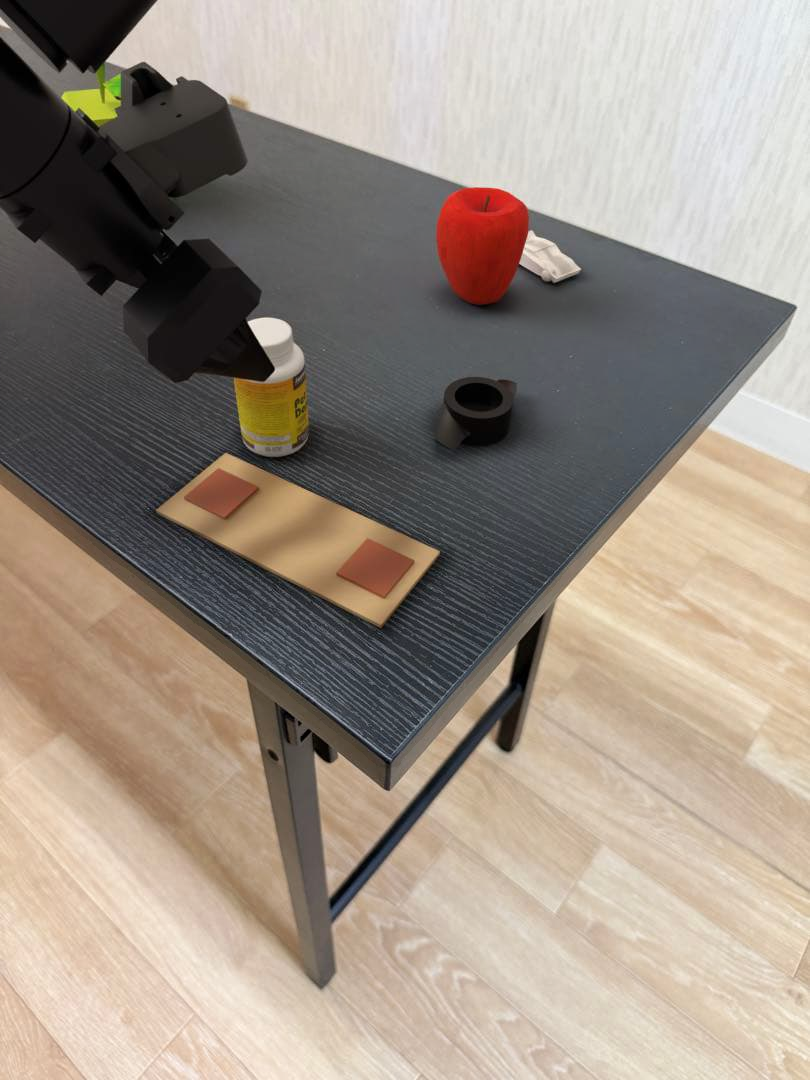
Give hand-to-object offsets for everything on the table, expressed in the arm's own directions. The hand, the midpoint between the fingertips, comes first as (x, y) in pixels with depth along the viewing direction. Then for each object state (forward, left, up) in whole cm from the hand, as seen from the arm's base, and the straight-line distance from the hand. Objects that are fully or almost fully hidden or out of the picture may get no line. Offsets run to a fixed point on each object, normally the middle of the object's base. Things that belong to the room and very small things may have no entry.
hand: (235, 338), depth 50 cm
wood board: (+4, 0, -15) cm, 16 cm away
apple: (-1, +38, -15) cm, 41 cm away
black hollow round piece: (+9, +19, -15) cm, 26 cm away
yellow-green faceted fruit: (-47, +34, -15) cm, 60 cm away
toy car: (+2, +48, -15) cm, 50 cm away
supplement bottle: (-4, +8, -15) cm, 18 cm away
